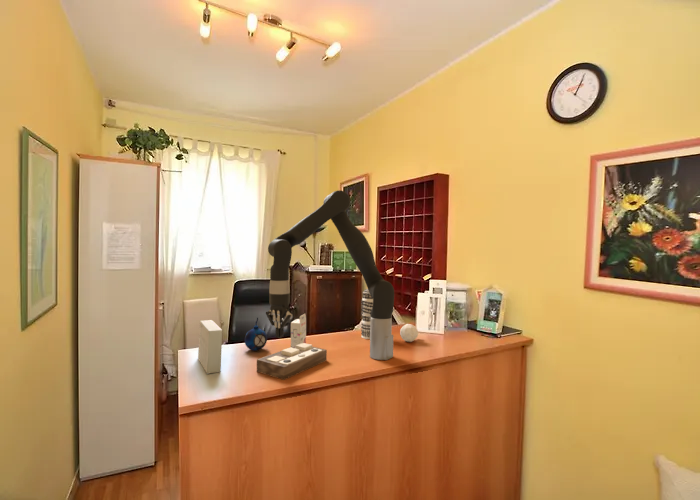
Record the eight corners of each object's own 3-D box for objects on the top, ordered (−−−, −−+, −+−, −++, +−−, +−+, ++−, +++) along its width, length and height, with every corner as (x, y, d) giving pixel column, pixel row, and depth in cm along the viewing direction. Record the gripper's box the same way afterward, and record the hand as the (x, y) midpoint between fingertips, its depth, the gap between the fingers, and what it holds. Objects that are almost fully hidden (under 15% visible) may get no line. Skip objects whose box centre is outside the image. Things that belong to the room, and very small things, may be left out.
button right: (312, 351, 144) (312, 344, 144) (304, 355, 140) (304, 347, 140) (303, 349, 147) (303, 342, 147) (295, 352, 143) (295, 345, 143)
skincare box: (222, 371, 129) (222, 329, 129) (206, 374, 126) (207, 331, 126) (211, 356, 147) (212, 318, 146) (197, 358, 144) (198, 320, 143)
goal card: (322, 350, 141) (322, 349, 141) (286, 365, 124) (286, 363, 124) (314, 348, 144) (314, 347, 144) (277, 362, 126) (277, 361, 126)
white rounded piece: (414, 341, 166) (425, 339, 175) (410, 322, 169) (421, 321, 178) (398, 344, 171) (410, 342, 180) (395, 325, 174) (407, 324, 183)
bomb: (249, 355, 148) (250, 320, 148) (241, 349, 157) (241, 316, 156) (271, 351, 154) (271, 318, 153) (262, 345, 162) (262, 314, 162)
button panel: (326, 360, 143) (326, 349, 143) (283, 379, 122) (284, 367, 122) (300, 354, 151) (301, 344, 150) (256, 371, 130) (256, 359, 130)
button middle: (299, 356, 138) (299, 349, 138) (290, 360, 134) (291, 352, 133) (290, 354, 140) (290, 347, 140) (281, 357, 136) (281, 350, 136)
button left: (285, 365, 131) (285, 358, 131) (275, 369, 127) (276, 361, 127) (276, 363, 134) (276, 355, 134) (266, 366, 130) (266, 359, 130)
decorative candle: (356, 336, 181) (357, 289, 181) (370, 333, 187) (370, 287, 187) (368, 340, 174) (368, 291, 174) (381, 337, 180) (382, 289, 179)
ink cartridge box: (296, 342, 169) (296, 312, 168) (306, 343, 168) (306, 313, 167) (290, 347, 160) (290, 316, 160) (300, 348, 159) (300, 316, 159)
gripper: (299, 292, 130) (299, 337, 131) (274, 289, 137) (274, 332, 138) (285, 294, 124) (285, 342, 124) (259, 291, 131) (259, 336, 131)
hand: (279, 337), depth 131 cm, fingers closed
